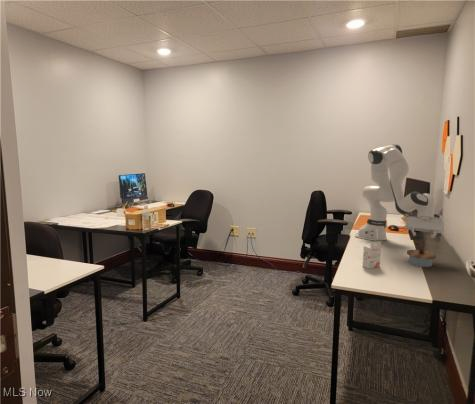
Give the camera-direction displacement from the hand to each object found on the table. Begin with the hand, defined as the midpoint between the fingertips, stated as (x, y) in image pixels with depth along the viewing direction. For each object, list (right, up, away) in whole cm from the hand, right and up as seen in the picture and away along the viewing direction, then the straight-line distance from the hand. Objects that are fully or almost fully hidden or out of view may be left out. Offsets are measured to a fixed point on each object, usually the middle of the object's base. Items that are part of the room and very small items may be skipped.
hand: (423, 236), depth 199 cm
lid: (-2, -10, -2) cm, 11 cm away
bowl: (-3, -15, -1) cm, 16 cm away
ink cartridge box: (-34, -16, -9) cm, 39 cm away
